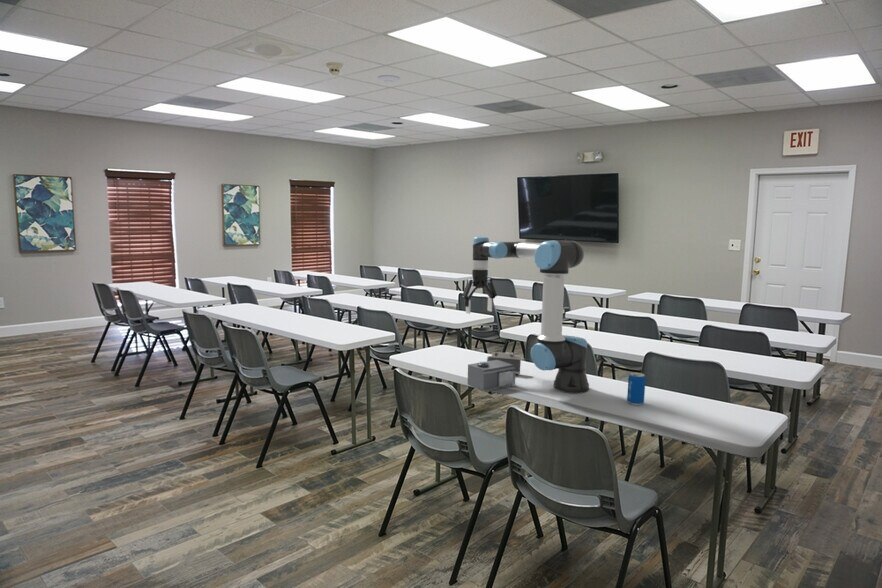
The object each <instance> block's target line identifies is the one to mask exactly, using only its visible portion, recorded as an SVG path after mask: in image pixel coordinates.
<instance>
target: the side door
mask: <svg viewBox="0 0 882 588" xmlns="http://www.w3.org/2000/svg"><path fill="white" fill-rule="evenodd" d="M516 376H517V375H516V372H514V371H511V370H510V371H504V372H498V386H499V387H501V386H506V385H510V386H509V387H515V386H516Z"/></svg>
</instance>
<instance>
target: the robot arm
mask: <svg viewBox="0 0 882 588" xmlns="http://www.w3.org/2000/svg"><path fill="white" fill-rule="evenodd" d="M472 241H473V242H472V270H471V271H472V273H471V276H472V279H471V278H470V279H469V278H468V279H467V280H466V285H465V288H464V289H463V293H462V295H461V299H462V300H464V307H465V314H469V315H470V314H471V306H472V304H471V298H472V296H473V295H474V293H475V291H476V290H478V289H483V290H484V291H485V294H486V295H487V296H488V297H487V312H491V313H492V312H493V305H494V299H495V298H497V297H498V294H497V291H496V289H495V286H494V284H493V278H491V277H488V276H489V274H488V273H489V270H488V268H489V258H491V259H496V260H497V259H498V260H499V259H504V258H506V259H507V258H509V259H510V258H515V259H516V258H517V259H526V260H527V259H529V260H534V263H535V264H536V266H537V268H539V274H540V275H542V277H543V280H542V281H543V282H542V298H541V299H542V300H541V301H542V302H541V303H542V305H541V329H540V334H538V336H537V337H536V343H535V344H534V345H533V346H532V347H530V357H531V361H532V362H533V364H534V365H535V367H536V368H538V370H541V371H553V370H557V373H556V376H555V379H554V381H553V388H554V389H555V390H557V391H559V392H563V393H568V394H583V393H587V392H589V391H590V384H589V381H588V376H587V370H586V369H587V354H588V341H587V340H586V338H584V337H579V336H574V335H568V334H567V335H564V334H563V318H564V317H563V316H564V297H565V296H564V295H565V277H567V276H568V275H569V273H570V272H569V271H570V270H569V269H572V268H576V267H578V266H579V265H580V264H581V263H582V262H583V260H584V257H585V251H584V250H585V249H584V248H583V246H582V245H581V244H580V243H579V242H577V241H575V240H554V239H553V240H545V241H543V242H525V241H524V242H523V241H490V239H489V237H486V236H475V237H473V240H472Z"/></svg>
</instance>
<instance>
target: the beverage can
mask: <svg viewBox="0 0 882 588" xmlns="http://www.w3.org/2000/svg"><path fill="white" fill-rule="evenodd" d="M646 379H647V378H646V375H645V374H644V373H642V372H630V373H629V375H628V381H627V395H626V398H627V399H626V401H627V402H628V403H629V404H630V403H631V404H630V405H633V404H635V405H634V406H641V405H642V404H644V403H645V394H646V393H645V392H646ZM640 404H641V405H640Z"/></svg>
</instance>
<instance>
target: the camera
mask: <svg viewBox="0 0 882 588" xmlns="http://www.w3.org/2000/svg"><path fill="white" fill-rule="evenodd" d="M521 358H522V357H521V356H519V355H515V353H514V352H509V351H507V352H502V351H500V352H498V351H497V352H496V351H495V352H491V355H488V356H486V362H487V361H493V360H500V361H503V362H506V363H509V364H512V365H513V367H515V369H513V371H514V372H516V374H517V375H520V374H521V363H522V361H521V360H522V359H521ZM517 375H516V376H517Z"/></svg>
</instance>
